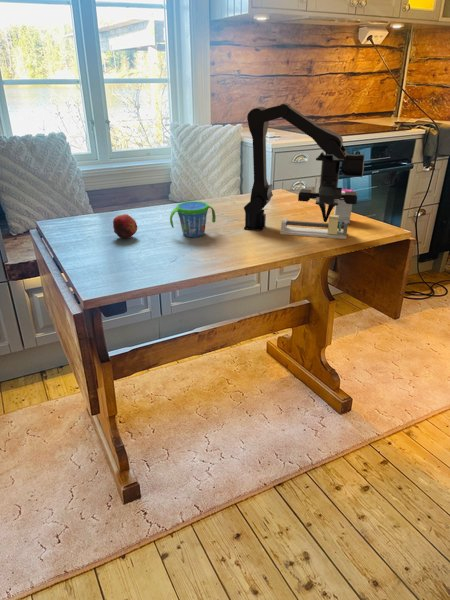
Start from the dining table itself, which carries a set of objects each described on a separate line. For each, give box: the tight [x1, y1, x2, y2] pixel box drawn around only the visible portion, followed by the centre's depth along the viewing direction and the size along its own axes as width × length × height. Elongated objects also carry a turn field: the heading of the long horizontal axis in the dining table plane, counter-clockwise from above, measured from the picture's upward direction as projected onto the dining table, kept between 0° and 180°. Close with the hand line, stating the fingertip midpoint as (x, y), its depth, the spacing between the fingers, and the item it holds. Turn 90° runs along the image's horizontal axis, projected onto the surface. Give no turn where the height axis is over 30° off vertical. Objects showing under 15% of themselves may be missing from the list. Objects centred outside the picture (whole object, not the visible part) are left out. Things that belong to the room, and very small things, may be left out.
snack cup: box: [169, 200, 217, 238], centre depth 157 cm, size 16×10×10 cm
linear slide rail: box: [280, 218, 349, 240], centre depth 158 cm, size 22×6×5 cm, turn 76°
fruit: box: [112, 213, 138, 240], centre depth 154 cm, size 8×8×8 cm
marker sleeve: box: [327, 214, 339, 235], centre depth 156 cm, size 3×5×5 cm, turn 166°
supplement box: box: [333, 188, 354, 225], centre depth 169 cm, size 6×6×12 cm
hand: (325, 221), depth 156 cm, fingers closed
